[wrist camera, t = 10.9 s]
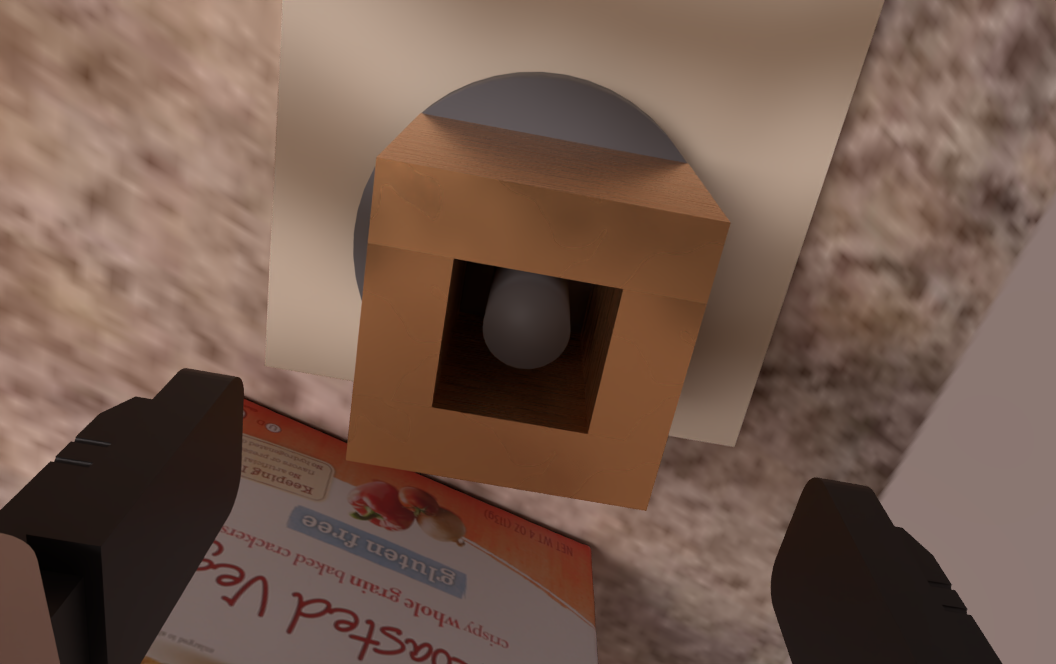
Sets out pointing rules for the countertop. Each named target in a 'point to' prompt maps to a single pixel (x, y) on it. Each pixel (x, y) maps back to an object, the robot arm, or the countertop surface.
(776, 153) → the board
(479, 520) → the cracker box
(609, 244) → the hollow wooden cube
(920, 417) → the countertop surface
